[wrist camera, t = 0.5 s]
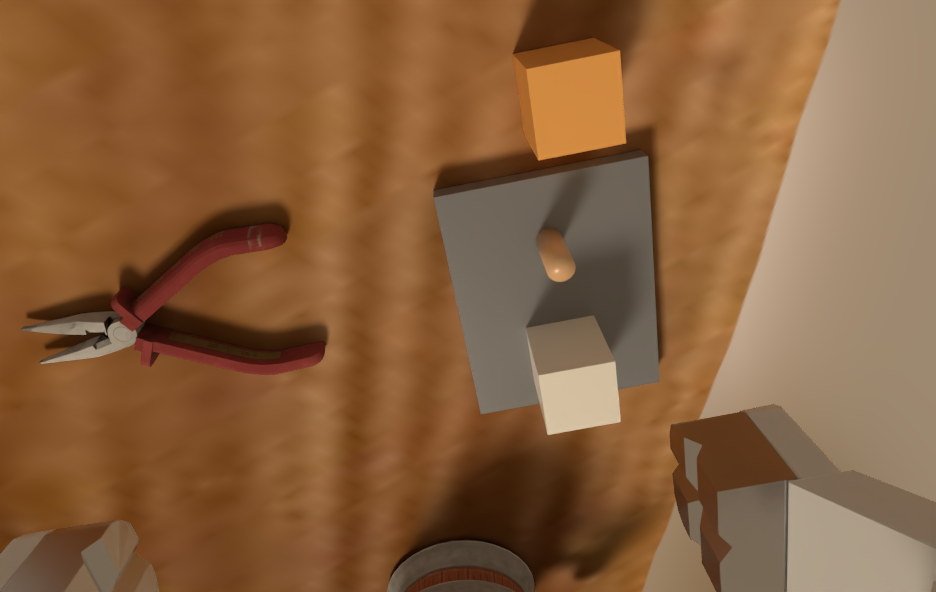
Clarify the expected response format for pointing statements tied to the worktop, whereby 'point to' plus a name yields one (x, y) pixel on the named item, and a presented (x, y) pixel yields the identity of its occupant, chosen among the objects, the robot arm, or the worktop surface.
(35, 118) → the worktop surface
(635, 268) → the plate
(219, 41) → the worktop surface
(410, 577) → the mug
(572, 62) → the orange matte cube
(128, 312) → the pliers
